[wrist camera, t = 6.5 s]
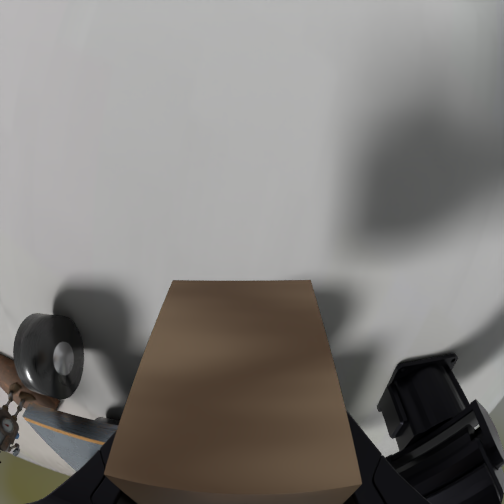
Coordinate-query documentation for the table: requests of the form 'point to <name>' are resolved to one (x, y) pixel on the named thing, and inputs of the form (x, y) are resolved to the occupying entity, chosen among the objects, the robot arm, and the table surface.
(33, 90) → the table surface
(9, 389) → the robot figurine
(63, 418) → the trolley
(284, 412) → the block
